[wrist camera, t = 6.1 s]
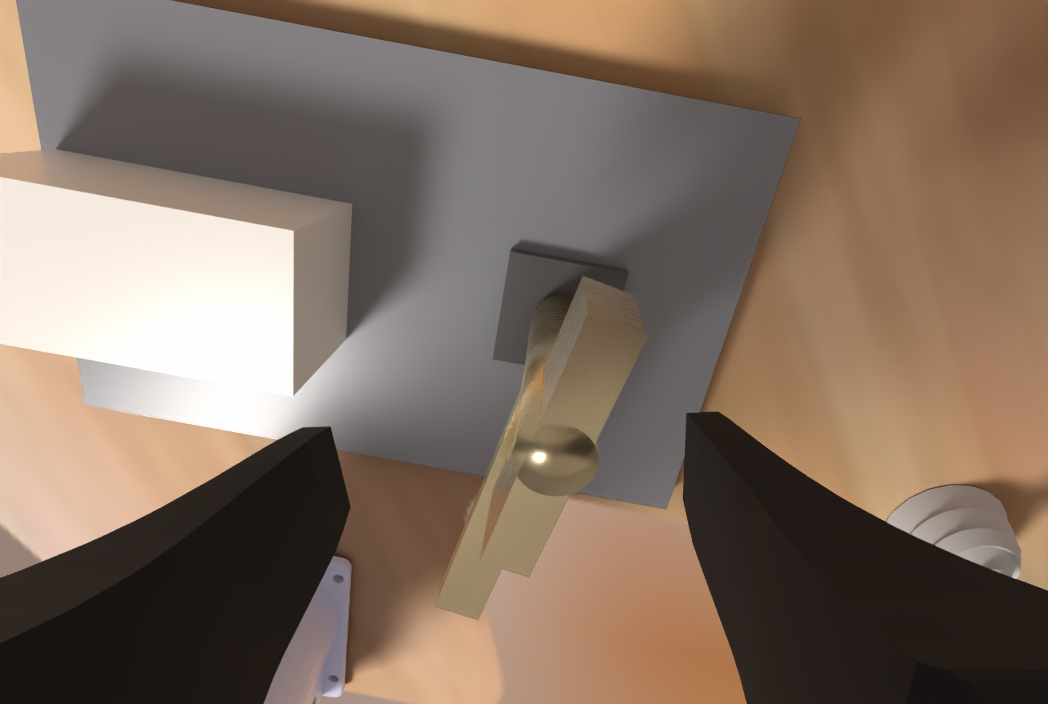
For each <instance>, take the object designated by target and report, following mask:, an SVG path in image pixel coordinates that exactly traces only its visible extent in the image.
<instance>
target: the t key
mask: <svg viewBox="0 0 1048 704" xmlns="http://www.w3.org/2000/svg"><path fill="white" fill-rule="evenodd" d="M647 338H648V336H647V333H646V331H645V328H644V325H643V323H642V320H641V317H640V315H639V312H638V309H637V307H636V304H635V301H634V299H633V296H632V294H630V293H627V292H625V291H622V290H619V289H617V288H614V287H611V286H609V285H606V284H603V283H601V282H598V281H595V280H593V279H590V278H587V277H585V276H583V277H582V279H581V281H580V284H579V286H578V288H577V291H576V293H575V296H574V298H573V300H571V299H570V298H567V297H564V296H552V297H549V298H546V299H544V300H543V301H541V302H540V303H539V304H538V305H537V306H536V307H535V309H534V311H533V314H532V318H531V325H530V332H529V339H528V346H527V353H526V360H525V367H524V374H523V381H522V386H521V389H520V391H519V394H518V396H517V399H516V401H515V404H514V406H513V408H512V411H511V413H510V416H509V418H508V421H507V423H506V426H505V428H504V431H503V433H502V435H501V438H500V440H499V443H498V445H497V448H496V450H495V453H494V455H493V457H492V460H491V462H490V465H489V467H488V470H487V472H486V475H485V477H484V480H483V482H482V484H481V487H480V489H479V492H478V494H477V497H476V499H475V502H474V504H473V506H472V509H471V511H470V514H469V516H468V519H467V521H466V524H465V526H464V529H463V531H462V533H461V536H460V538H459V541H458V543H457V546H456V548H455V551H454V553H453V555H452V558H451V560H450V563H449V565H448V568H447V570H446V573H445V575H444V578H443V580H442V582H441V585H440V587H439V591H438V595H437V599H436V603H435V607H438V608H441V609H444V610H448V611H451V612H454V613H457V614H460V615H464V616H467V617H470V618H473V619H476V620H478V619H479V617H480V615H481V613H482V611H483V609H484V606H485V604H486V602H487V600H488V598H489V596H490V593H491V591H492V589H493V587H494V585H495V583H496V581H497V578H498V576H499V574H500V572H501V570H502V569H504V570H507V571H511V572H514V573H517V574H520V575H523V576H526V577H529V576H530V574H531V572H532V570H533V568H534V566H535V564H536V562H537V560H538V558H539V556H540V554H541V552H542V550H543V548H544V546H545V544H546V542H547V540H548V538H549V536H550V534H551V532H552V530H553V528H554V526H555V524H556V522H557V520H558V518H559V516H560V514H561V512H562V510H563V508H564V506H565V504H566V502H567V500H568V498H569V495H570V494H573V493H576V492H578V491H580V490H582V489H583V488H584V487H586V486H587V485H588V484H589V483H590V482H591V481H592V479H593V478H594V476H595V475H596V472H597V469H598V465H599V456H598V446H597V439H598V437H599V435H600V433H601V431H602V429H603V427H604V425H605V423H606V421H607V419H608V417H609V415H610V413H611V411H612V409H613V406H614V404H615V402H616V400H617V398H618V396H619V394H620V392H621V390H622V388H623V386H624V384H625V382H626V380H627V378H628V376H629V374H630V372H631V370H632V368H633V366H634V364H635V362H636V360H637V358H638V356H639V354H640V352H641V350H642V348H643V346H644V344H645V342H646V340H647Z"/></svg>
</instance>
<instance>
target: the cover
mask: <svg viewBox="0 0 1048 704" xmlns="http://www.w3.org/2000/svg"><path fill="white" fill-rule="evenodd" d="M351 221H352V204H351V203H345V202H340V201H334V200H329V199H323V198H318V197H313V196H307V195H302V194H296V193H291V192H286V191H280V190H275V189H269V188H264V187H258V186H253V185H248V184H242V183H237V182H231V181H226V180H220V179H215V178H210V177H204V176H199V175H193V174H188V173H183V172H177V171H172V170H166V169H161V168H155V167H150V166H145V165H139V164H134V163H128V162H123V161H117V160H112V159H107V158H101V157H96V156H90V155H85V154H80V153H74V152H69V151H63V150H58V149H51V150H39V151H27V152H15V153H3V154H0V344H5V345H10V346H16V347H21V348H27V349H33V350H38V351H44V352H49V353H55V354H60V355H66V356H71V357H77V358H83V359H88V360H94V361H99V362H105V363H110V364H116V365H121V366H127V367H133V368H138V369H144V370H149V371H155V372H160V373H166V374H171V375H177V376H182V377H188V378H194V379H199V380H205V381H210V382H216V383H221V384H227V385H232V386H238V387H244V388H249V389H255V390H260V391H266V392H271V393H277V394H282V395H288V396H294V395H295V394H296V393H297V392H298V391H299V390H300V389H301V387H302V386H303V385H304V384H305V383H306V382H307V381H308V380H309V379H310V378H311V377H312V376H313V375H314V373H315V372H316V371H317V370H318V369H319V368H320V367H321V366H322V365H323V364H324V363H325V362H326V361H327V359H328V358H329V357H330V356H331V355H332V354H333V353H334V352H335V351H336V350H337V349H338V348H339V347H340V345H341V344H342V343H343V342H344V341H345V340H346V332H347V310H348V288H349V266H350V243H351Z"/></svg>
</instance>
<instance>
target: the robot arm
mask: <svg viewBox="0 0 1048 704" xmlns="http://www.w3.org/2000/svg"><path fill="white" fill-rule="evenodd" d="M683 501H684V506H685V511H686V515H687V520H688V525H689V529H690V533H691V538H692V542H693V545H694V548H695V551H696V554H697V557H698V559H699V562H700V565H701V568H702V571H703V574H704V576H705V579H706V582H707V585H708V587H709V590H710V592H711V595H712V598H713V601H714V604H715V606H716V609H717V612H718V615H719V617H720V620H721V623H722V626H723V628H724V631H725V634H726V636H727V639H728V642H729V645H730V647H731V650H732V653H733V656H734V659H735V663H736V666H737V669H738V672H739V675H740V679H741V683H742V687H743V690H744V694H745V698H746V702H747V704H1048V591H1047V590H1045V589H1042V588H1039V587H1037V586H1034V585H1031V584H1028V583H1026V582H1023V581H1020V580H1018V579H1015V578H1012V577H1010V576H1007V575H1004V574H1001V573H999V572H996V571H994V570H991V569H989V568H987V567H984V566H982V565H979V564H977V563H974V562H972V561H969V560H967V559H964V558H962V557H960V556H957V555H955V554H953V553H951V552H949V551H946V550H944V549H942V548H940V547H937V546H935V545H933V544H931V543H928V542H926V541H924V540H922V539H919V538H917V537H915V536H913V535H911V534H909V533H907V532H905V531H903V530H901V529H899V528H897V527H895V526H893V525H891V524H889V523H887V522H885V521H883V520H881V519H880V518H878V517H876V516H874V515H872V514H870V513H868V512H866V511H865V510H863V509H861V508H859V507H857V506H855V505H853V504H852V503H850V502H848V501H847V500H845V499H843V498H841V497H840V496H838V495H836V494H835V493H833V492H832V491H830V490H828V489H827V488H825V487H824V486H822V485H821V484H819V483H817V482H816V481H814V480H813V479H811V478H809V477H808V476H806V475H805V474H803V473H802V472H800V471H799V470H798V469H796V468H795V467H793V466H792V465H790V464H789V463H787V462H786V461H785V460H783V459H782V458H780V457H779V456H778V455H776V454H775V453H773V452H772V451H771V450H769V449H768V448H767V447H765V446H764V445H763V444H761V443H760V442H759V441H757V440H756V439H755V438H753V437H752V436H751V435H749V434H748V433H747V432H745V431H744V430H743V429H741V428H740V427H739V426H738V425H736V424H735V423H734V422H732V421H731V420H730V419H728V418H727V417H725V416H724V415H723V414H721V413H720V412H697V413H686V436H685V460H684V485H683ZM349 510H350V503H349V499H348V495H347V491H346V487H345V483H344V478H343V474H342V470H341V466H340V462H339V458H338V454H337V450H336V446H335V442H334V438H333V434H332V430H331V426H326V427H302V428H300V429H298V430H296V431H293V432H291V433H289V434H288V435H286V436H284V437H282V438H280V439H278V440H277V441H275V442H273V443H272V444H270V445H268V446H266V447H265V448H263V449H261V450H260V451H258V452H256V453H255V454H253V455H251V456H250V457H248V458H246V459H245V460H243V461H241V462H240V463H238V464H236V465H235V466H233V467H231V468H230V469H228V470H226V471H225V472H223V473H221V474H220V475H218V476H216V477H215V478H213V479H211V480H209V481H208V482H206V483H204V484H202V485H200V486H199V487H197V488H195V489H193V490H192V491H190V492H188V493H186V494H184V495H183V496H181V497H179V498H177V499H176V500H174V501H172V502H170V503H168V504H167V505H165V506H163V507H161V508H159V509H157V510H155V511H153V512H152V513H150V514H148V515H146V516H144V517H142V518H140V519H138V520H136V521H134V522H132V523H130V524H127V525H125V526H123V527H121V528H119V529H117V530H115V531H113V532H111V533H108V534H106V535H104V536H102V537H100V538H98V539H95V540H93V541H91V542H89V543H86V544H84V545H82V546H79V547H77V548H74V549H72V550H69V551H67V552H65V553H62V554H60V555H57V556H55V557H52V558H50V559H47V560H45V561H43V562H40V563H38V564H35V565H33V566H30V567H28V568H26V569H23V570H20V571H18V572H15V573H13V574H10V575H7V576H4V577H2V578H0V704H318V703H319V701H320V698H321V696H322V695H324V696H329V697H339V696H340V695H342V692H343V690H344V687H345V672H346V655H347V639H348V622H349V606H350V589H351V573H352V566H351V563H350V562H349V561H348V560H347V559H345V558H341V557H336V556H334V554H335V551H336V549H337V546H338V543H339V541H340V538H341V535H342V532H343V529H344V526H345V523H346V520H347V516H348V513H349ZM338 575H340V576H342V577H340V576H338Z"/></svg>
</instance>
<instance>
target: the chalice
mask: <svg viewBox="0 0 1048 704" xmlns="http://www.w3.org/2000/svg"><path fill="white" fill-rule="evenodd" d="M886 522H887V523H889V524H891V525H893V526H895V527H897V528H899V529H901V530H903V531H905V532H907V533H909V534H911V535H913V536H915V537H917V538H919V539H922V540H924V541H926V542H928V543H931V544H933V545H935V546H937V547H940V548H942V549H944V550H946V551H949V552H951V553H953V554H955V555H957V556H960V557H962V558H964V559H967V560H969V561H972V562H974V563H977V564H979V565H982V566H984V567H987V568H989V569H991V570H994V571H996V572H999V573H1001V574H1004V575H1007V576H1010V577H1012V578H1015V579H1017V578H1018V576H1019V573H1020V571H1021V549H1020V547H1019V545H1018V543H1017V541H1016V540H1015V535H1014V531H1013V529H1012V527H1011V526H1010V524H1009V522H1008V518H1007V513H1006V511H1005V509H1004V507H1003V505H1002V503H1001V501H1000V500H999V499H997V498H996V497H995V496H993V495H992V494H991V493H989V492H988V491H986V490H982V489H979V488H976V487H973V486H965V485H948V486H943V487H939V488H934V489H929V490H927V491H925V492H923V493H920V494H918V495H916V496H914V497H912V498H910V499H908V500H907V501H906V502H905V503H903V504H902V505H901V506H899V507H898V508H897V509H896V510H894V512H893V513H892V514H891V516H890V517H889V518H888V520H887V521H886Z"/></svg>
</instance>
